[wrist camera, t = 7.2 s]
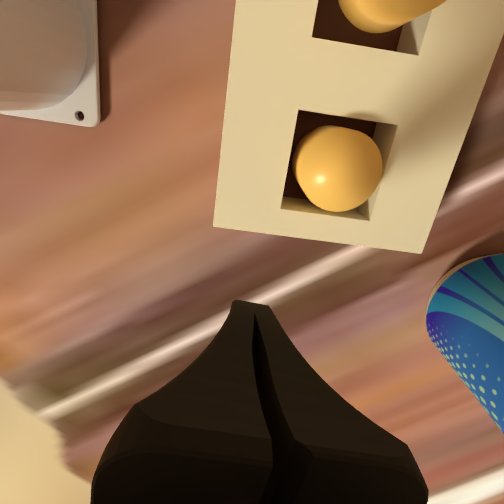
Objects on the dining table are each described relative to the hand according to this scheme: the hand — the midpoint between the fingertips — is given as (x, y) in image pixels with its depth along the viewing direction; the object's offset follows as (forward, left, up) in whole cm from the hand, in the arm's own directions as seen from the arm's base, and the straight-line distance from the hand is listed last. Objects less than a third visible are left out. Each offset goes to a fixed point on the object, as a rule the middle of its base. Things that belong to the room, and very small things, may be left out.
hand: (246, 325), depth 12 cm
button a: (+4, +5, -10) cm, 12 cm away
